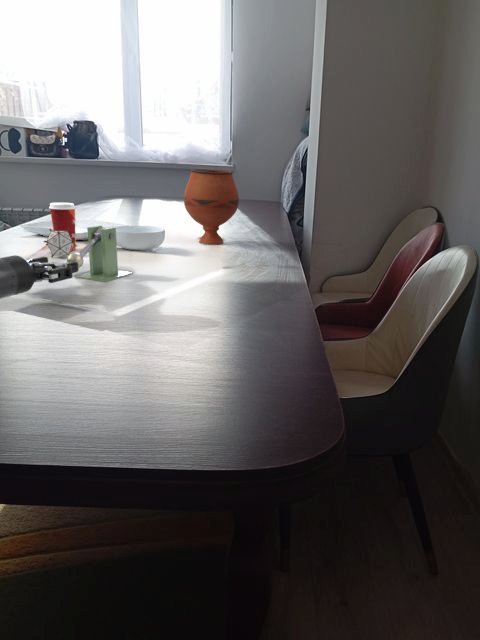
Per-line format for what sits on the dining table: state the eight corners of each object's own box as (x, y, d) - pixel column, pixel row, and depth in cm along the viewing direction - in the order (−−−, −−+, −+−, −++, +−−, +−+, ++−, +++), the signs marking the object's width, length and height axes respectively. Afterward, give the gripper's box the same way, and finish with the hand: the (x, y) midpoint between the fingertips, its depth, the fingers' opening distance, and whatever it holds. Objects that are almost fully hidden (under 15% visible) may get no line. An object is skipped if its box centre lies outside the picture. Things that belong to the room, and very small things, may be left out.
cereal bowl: (175, 250, 169) (175, 228, 166) (142, 258, 155) (141, 234, 152) (135, 243, 176) (134, 222, 173) (100, 250, 162) (98, 227, 159)
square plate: (131, 234, 193) (131, 224, 192) (79, 244, 170) (78, 232, 169) (75, 226, 203) (75, 216, 202) (19, 234, 180) (18, 223, 178)
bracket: (105, 286, 122) (102, 231, 118) (75, 281, 125) (70, 227, 121) (132, 277, 132) (130, 226, 127) (104, 272, 135) (101, 223, 130)
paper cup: (83, 250, 160) (80, 204, 155) (59, 252, 155) (55, 205, 150) (72, 246, 165) (68, 201, 160) (48, 248, 160) (43, 202, 155)
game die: (66, 268, 153) (83, 239, 155) (65, 263, 145) (82, 233, 147) (38, 252, 151) (55, 223, 152) (34, 247, 143) (52, 216, 144)
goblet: (175, 244, 180) (174, 168, 171) (196, 236, 197) (196, 168, 188) (227, 249, 175) (229, 172, 166) (243, 241, 193) (246, 171, 184)
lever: (79, 272, 117) (73, 259, 115) (66, 270, 118) (61, 257, 116) (113, 238, 126) (109, 226, 124) (101, 237, 127) (96, 224, 125)
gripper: (27, 263, 96) (86, 250, 110) (-28, 254, 101) (35, 243, 115) (32, 302, 99) (88, 284, 113) (-23, 291, 104) (38, 276, 118)
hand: (61, 263), depth 114 cm, fingers open, 8 cm apart
